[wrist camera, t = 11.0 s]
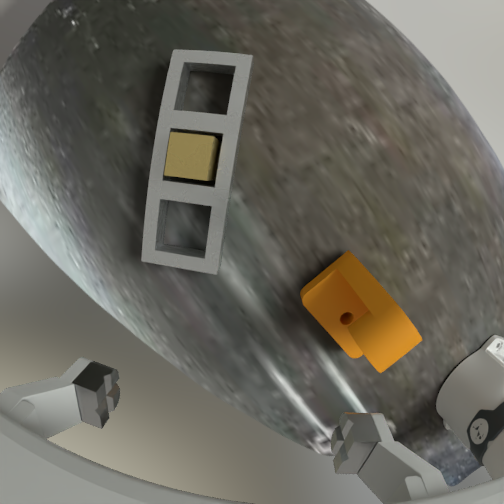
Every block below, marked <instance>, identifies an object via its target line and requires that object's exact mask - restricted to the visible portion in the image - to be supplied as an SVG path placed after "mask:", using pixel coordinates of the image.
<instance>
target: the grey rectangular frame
mask: <svg viewBox="0 0 504 504" xmlns="http://www.w3.org/2000/svg"><path fill="white" fill-rule="evenodd" d="M253 66H254V64H253V55H245V54H236V53H226V52H214V51H198V50H173V53H172V57H171V62H170V66H169V70H168V74H167V79H166V84H165V88H164V93H163V98H162V103H161V108H160V113H159V119H158V124H157V130H156V136H155V142H154V148H153V155H152V162H151V169H150V176H149V184H148V192H147V201H146V210H145V220H144V232H143V244H142V259H141V261H143V262H149V263H154V264H160V265H165V266H171V267H176V268H182V269H187V270H193V271H199V272H204V273H210V274H216V275H217V273H218V271H219V269H220V266H221V260H222V253H223V246H224V239H225V232H226V226H227V219H228V212H229V206H230V199H231V193H232V187H233V180H234V174H235V168H236V162H237V156H238V150H239V144H240V138H241V132H242V126H243V121H244V115H245V109H246V104H247V98H248V93H249V87H250V82H251V76H252V71H253ZM190 71H199V72H212V73H223V74H233V75H234V79H233V84H232V89H231V94H230V100H229V105H228V111H227V115H220V114H211V113H201V112H190V111H182V109H183V104H184V98H185V93H186V89H187V84H188V79H189V74H190ZM170 132H177V133H178V132H186V133H196V134H205V135H213V136H221V137H223V139H222V145H221V151H220V157H219V163H218V169H217V176H216V182H215V186H213V185H206V184H199V183H191V182H184V181H176V180H171V176H165V175H164V171H165V164H166V157H167V151H168V144H169V138H170ZM168 200H172V201H179V202H186V203H193V204H200V205H206V206H212V209H211V216H210V223H209V231H208V238H207V246H206V251H204V250H198V249H192V248H186V247H180V246H174V245H168V244H164V234H165V224H166V215H167V206H168Z"/></svg>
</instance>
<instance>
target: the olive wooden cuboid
mask: <svg viewBox="0 0 504 504" xmlns="http://www.w3.org/2000/svg"><path fill="white" fill-rule="evenodd" d="M220 145H221V142H220V141H219V140H218V139H217V138H215V137H214V136H207V135H197V134H188V133H177V132H170V138H169V144H168V151H167V157H166V164H165V171H164V175H165V176H174V177H182V178H190V179H198V180H205V181H209V180H215V177H216V170H217V164H218V157H219V151H220Z"/></svg>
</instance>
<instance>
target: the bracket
mask: <svg viewBox="0 0 504 504" xmlns="http://www.w3.org/2000/svg"><path fill="white" fill-rule="evenodd" d="M300 296H301V299H302V302H303V305H304V306H305V307H306V309H307V310H308V311H309V312H310V313H311V314H312V315H313V316H314V317H315V319H316V320H317V321H318V322H319V323H320V324H321V325H322V326H323V327H324V329H325V330H326V331H327V332H328V333H329V334H330V335H331V336H332V337H333V339H334V340H335V341H336V342H337V343H338V344H339V345H340V346H341V347H342V348H343V350H344V351H345V352H346V353H347V354H348V355H349V356H350V357H351V358H358V357H360V356H362V355H363V354H364V355H365V356H366V358H367V359H368V360H369V361H370V363H371V364H372V365H373V366H374V367H375V369H376V370H377V371H378V372H380V373H382V372H383V371H384V370H386V369H387V368H388V367H389V366H391V365H392V364H393V363H395V362H396V361H397V360H398V359H400V358H401V357H402V356H403V355H405V354H406V353H407V352H408V351H410V350H411V349H412V348H413V347H414V346H416V345H417V344H418V343H419V342H420V341H422V338H421V336H420V334H419V333H418V331H417V330H416V328H415V327H414V325H413V324H412V322H411V321H410V320H409V318H408V317H407V316H406V314H405V313H404V312H403V311H402V309H401V308H400V307H399V306H398V304H397V303H396V302H395V301H394V300H393V299H392V297H391V296H390V295H389V294H388V293H387V292H386V291H385V289H384V288H383V287H382V286H381V285H380V284H379V283H378V281H377V280H376V279H375V278H374V277H373V276H372V275H371V274H370V272H369V271H368V270H367V269H366V268H365V267H364V266H363V265H362V264H361V263H360V261H359V260H358V259H357V258H356V257H355V256H354V255H353V254H352V253H351V252H350V251H349V250H348V251H347V252H345V253H344V254H343V255H342V256H341V257H340V258H338V259H337V260H336V261H335V262H334V263H332V264H331V265H330V266H329V267H328V268H326V269H325V270H324V271H323V272H322V273H320V274H319V275H318V276H317V277H315V278H314V279H313V280H312V281H311V282H309V283H308V284H307V285H306V286H304V287H303V288H302V290H301V292H300Z"/></svg>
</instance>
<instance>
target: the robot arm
mask: <svg viewBox="0 0 504 504" xmlns="http://www.w3.org/2000/svg"><path fill="white" fill-rule="evenodd" d="M118 379H119V374H118V371H117V370H116V369H114V368H111V367H108V366H106V365H103V364H100V363H98V362H95V361H91V360H89V359H87V358H84V357H81V358H79V359H78V360H77V361H76V362H75V363H74V364H73V365H72V366H71V367H70V368H69V369H68V370H67V371H66V372H65V373H64V374H63V375H62V376H61V377H60V378H58V377H53V378H49V379H45V380H40V381H36V382H31V383H27V384H23V385H18V386H14V387H9V388H6V389H4V391H2V392H1V393H0V504H253V503H245V502H238V501H231V500H225V499H219V498H214V497H208V496H203V495H198V494H194V493H189V492H185V491H181V490H177V489H173V488H169V487H166V486H162V485H158V484H155V483H152V482H148V481H145V480H141V479H139V478H136V477H133V476H130V475H127V474H124V473H121V472H119V471H116V470H113V469H111V468H108V467H105V466H103V465H100V464H98V463H96V462H93V461H91V460H88V459H86V458H84V457H82V456H79V455H77V454H75V453H73V452H71V451H69V450H66V449H64V448H62V447H60V446H58V445H56V444H54V443H52V442H50V441H49V440H47V438H49V437H52V436H54V435H56V434H58V433H60V432H62V431H64V430H67V429H69V428H71V427H73V426H75V425H77V424H79V423H81V422H82V421H83V422H85V423H88V424H90V425H93V426H96V427H98V428H101V429H102V428H103V426H104V425H105V423H106V422H107V420H108V419H109V412H111V411H114V410H115V408H116V406H117V404H118V401H119V397H120V388H119V386H118V385H117V383H116V382H117V381H118ZM436 409H437V412H438V414H439V415H440V416H441V417H442V418H443V425H444V427H445V428H446V429H447V430H450V429H451V430H452V431H453V432H454V433H455V435H456V436H457V437H458V438H459V440H460V441H461V442H462V443H463V444H464V446H465V447H466V448H467V449H470V450H471V452H472V453H473V455H474V458H475V459H476V461H478V462H479V464H480V465H481V466H485V468H486V470H487V471H488V473H489V475H490V476H491V478H492V480H491V481H488V482H485V483H482V484H478V485H475V486H471V487H468V488H464V489H461V490H457V491H453V492H450V491H449V489H448V487H447V485H446V483H445V480H444V478H443V476H442V474H441V472H440V471H439V470H438V469H436V468H435V467H433V466H432V465H430V464H429V463H427V462H426V461H425V460H423V459H422V458H420V457H419V456H418V455H416V454H415V453H413V452H412V451H410V450H409V449H408V448H406V447H405V446H404V445H402V444H401V443H399V442H398V441H396V442H395V441H394V439H393V437H392V434H391V432H390V429H389V427H388V425H387V422H386V420H385V418H384V415H383V414H382V413H369V414H368V413H345V412H344V413H343V414H342V415H341V417H340V419H339V422H340V426H338V427H337V428H335V430H334V432H333V434H332V439H331V450H332V452H333V453H334V454H335V455H336V456H335V458H334V460H333V462H334V467H335V473H337V474H357V475H358V476H359V478H360V479H361V480H362V481H363V482H364V483H365V484H366V485H367V486H368V488H370V490H371V491H372V492H373V493H374V494H375V495H376V496H377V497H378V498H379V499H380V501H381V502H382V503H383V504H504V338H502V337H500V336H497V335H493V336H492V337H491V338H490V339H489V340H488V341H487V342H486V343H485V344H484V345H483V346H482V347H481V348H480V349H479V350H478V351H477V352H475V353H473V354H472V355H470V356H469V357H468V358H466V359H465V360H464V361H463V362H462V363H460V364H459V365H458V366H457V367H456V368H455V370H454V371H453V372H452V373H451V374H450V375H449V377H448V378H447V380H446V381H445V383H444V384H443V386H442V388H441V390H440V392H439V394H438V397H437V401H436Z"/></svg>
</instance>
